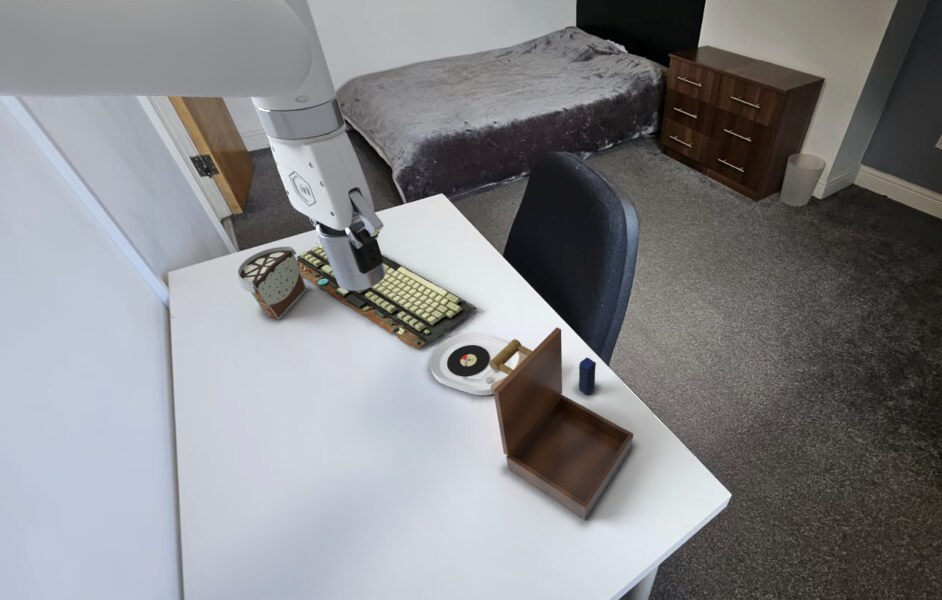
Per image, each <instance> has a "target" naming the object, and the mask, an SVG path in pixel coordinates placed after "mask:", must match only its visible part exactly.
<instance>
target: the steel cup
mask: <svg viewBox="0 0 942 600" xmlns="http://www.w3.org/2000/svg"><path fill="white" fill-rule="evenodd" d="M356 216H358V215H357V213H356V212H354V213H352V218H354V217H356ZM315 228H316V230H315V232H316V234H317V237H318V240H319V242H320V245H322V247H323V249H324V252H325V254H326V256H327V259H328V261H329V264H330V266H331V269H332V271H333V273H334V276H335V278H336V281H337V283H338V285H339V286H340V287H341V288H343V289H346V290H351V291H357V290H364V289H367V288H370V287H373V286H375V285H376V284H378V283H379V282H380V281H382V279H383V278H384V276H385V274H386V271H385V268H384V264H383V263H382V264H381V265H379V266H377V267H376V268H374V269H372V270H370V271H369V272H367V273H365V274H362V273H361V272H359V269H358V267H357V264H356V261H355V258H354V256H353V253H352V250H351V248H350V247H351V246H353V243H352V242H351V240H350V238H349V236H348V235H347V233H346V231H345V230H342V231H340V230H336V229H333V228H331V227H329V226H326V225H324V224H322V223H320V222H319V224H318V225H317V227H315ZM353 228H354V230H355V231H356V233H357V235H358V234H359V233H360V231H361V230H363V229H364V226H363V224H362V223H361V222H360V223H358V224H356V225H354V226H353Z"/></svg>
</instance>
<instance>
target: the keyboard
mask: <svg viewBox="0 0 942 600" xmlns="http://www.w3.org/2000/svg"><path fill="white" fill-rule="evenodd" d="M315 244H316V245H317V244H318V243H317V242H315ZM382 257H383V264H384V268H385V271H386V274H385V276H384V278H383V279H382V281H380V282H379V283H378V284H376V285H375V286H373V287H370V288H367V289H364V290H357V291H351V290H346V289H343V288H341V287H340V286H339V285H338V283H337V281H336V278H335V276H334V273H333V271H332V269H331V266H330V264H329V261H328V259H327V256H326V254H325V252H324V249H323V247H322V244H320V245H318V246H314V247H312V248H310V250H308V251H303V252H301V253H299V255H298V256H296V261H297V264H298V266H299V269H300V272H301V275H302V277H303V278H305V279H306V280H308V281H310V282H311V283H313V284H314V285H315V286H316V287H318V288H320V289H322V290H325V291H326V292H327V293H328V294H329V295H331V296H333V297H334V298H336V299H337V300H338V301H340V302H341V303H343V304H345V305H346V306H347V307H349V308H351V309H352V310H354V311H355V312H357V313H358V314H361V315H362V316H363V317H366V318H367V319H368V320H370V321H371V322H372V323H374V324H375V325H377V326H378V327H380V328H382V329H383V330H385V331H386V332H388V333H389V334H390V335H394V334H395V335H396V338H397V339H398V340H400V341H401V342H402V343H404V344H406V345H407V346H409V347H413V348H414V349H416V350H419V349H420V348H421V347H423V346H424V345H426V344H427V343H432V342H434V341H435V340H437V339H438V338H439V337H441V336H442V335H444V334H445V333H446V332H448V331H450V330H451V329H452V328H453V327H454V326H456V325H458V324H459V323H461V321H463V320H464V319H465V318H467V317H468V316H470V315H471V314H472V313H474V312H475V311H476V310H477V309H478V308H477V307H476V305H474V304H472V303H470V302H469V301H466V300H464V299H463V298H461V297H459V296H458V295H456V294H454V293H452V292H451V291H448V290H446V289H445V288H444V287H441V286H440V285H437V284H436V283H434V282H432V281H430V280H428V279H426V278H425V277H423V276H421V275H419V274H417V273H415V271H412V270H410V269H409V268H406V267H405V266H403V265H401V264H399V263H398V262H396V261H394V260H393V259H391V258H389V257H386V256H385V255H383V254H382Z"/></svg>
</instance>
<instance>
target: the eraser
mask: <svg viewBox="0 0 942 600" xmlns="http://www.w3.org/2000/svg"><path fill="white" fill-rule="evenodd" d="M596 367H597V362H596V361H593V360H592V359H591V358H589V357H584V359H582V360H581V361H580V362H579V366H578V371H579V372H578V376H579V377H578V389H579V391H580V392H581V393H582V394H583V395H585V396H589V395H591V393H592V392H594V390H595V386H596V384H595V382H596Z"/></svg>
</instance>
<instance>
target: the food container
mask: <svg viewBox="0 0 942 600" xmlns="http://www.w3.org/2000/svg"><path fill="white" fill-rule="evenodd" d="M295 255H297V252H296V250H295V249H294V248H293V247H292V246H276V247H272V248H267V249H263V250H261V251H259V252H256V253H254V254H252V255H251V256H248V257H247V258H246V259H245V260H243V262H242V263H241V264H240V265H239V267H238V269H237V279H238V282H239V285H240V287H241V289H243V290H244V291H246V292H249V293H250V294H251V296H252V297H253V299H255V301H256V302H257V303H258V305H259V306H260V308H261V309H262V310H263V311H264V313H265V314H266V315H267V317H269V318H270V319H273V320H275V321H279V320H280V319H281V318H282V317H283V316H284V315H285V314H286V313H287V312H288V310H289V309H290V308H291V307H292V306H293V305H294V304H295V303H296V302H297V301H298V300H299V299H300V297H301V296H302V295H304V293H305V292H306V291H307V290H308V288H307V285H306V283H305V280H304V277H303V276H302V275H301V272H300V269H299V266H298V264H297V257H296V256H295Z"/></svg>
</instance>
